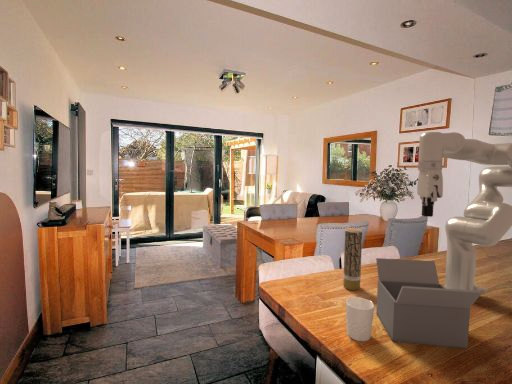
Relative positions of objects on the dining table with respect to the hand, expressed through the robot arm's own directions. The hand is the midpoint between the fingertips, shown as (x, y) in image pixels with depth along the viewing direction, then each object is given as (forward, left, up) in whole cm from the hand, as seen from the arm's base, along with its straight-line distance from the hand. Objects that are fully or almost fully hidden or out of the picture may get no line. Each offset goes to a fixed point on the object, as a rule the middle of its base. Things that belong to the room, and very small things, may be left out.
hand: (427, 216), depth 104 cm
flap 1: (+10, +10, -18) cm, 23 cm away
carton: (+10, +20, -33) cm, 40 cm away
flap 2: (+10, +30, -18) cm, 36 cm away
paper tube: (+24, -10, -33) cm, 42 cm away
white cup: (+29, +26, -33) cm, 51 cm away
